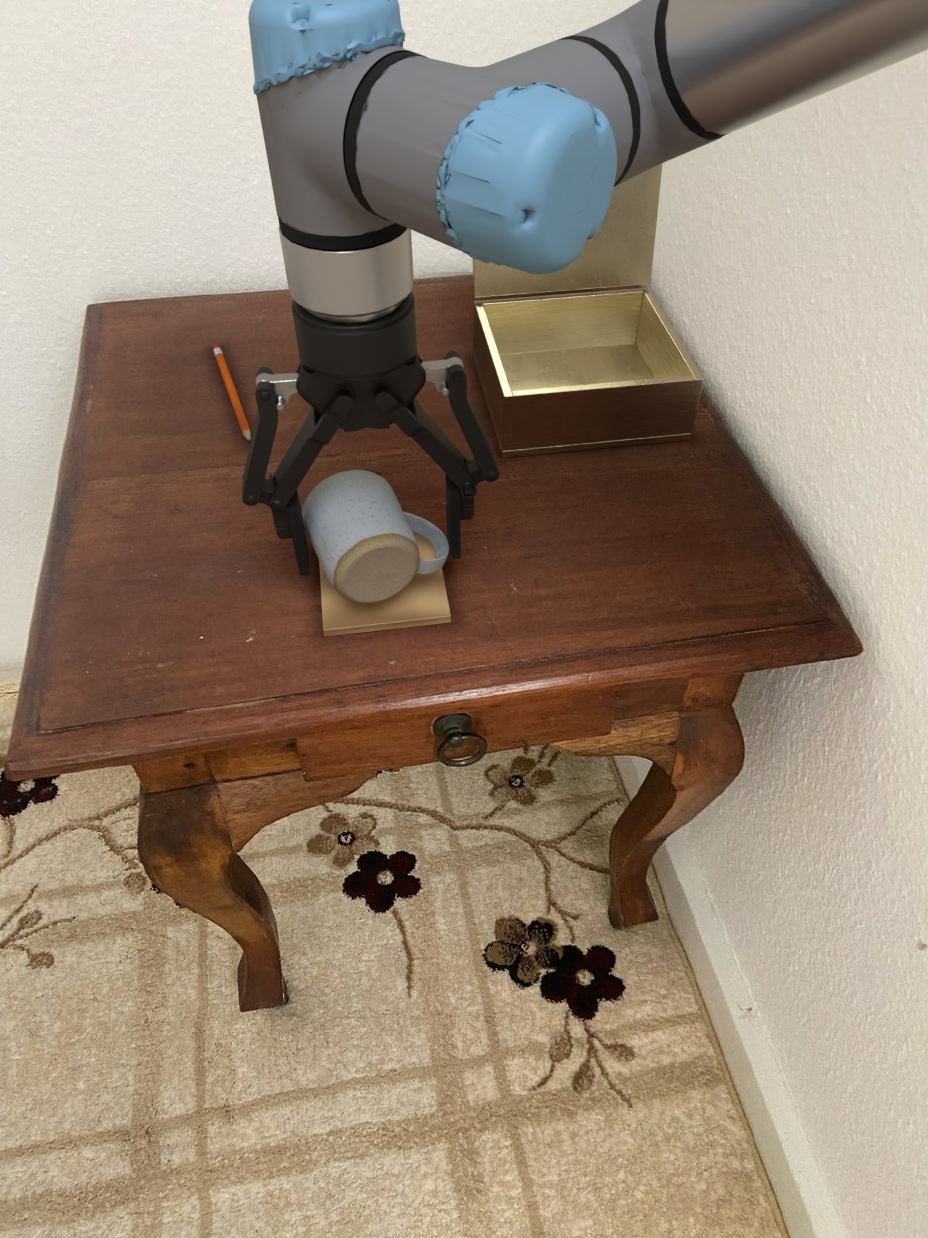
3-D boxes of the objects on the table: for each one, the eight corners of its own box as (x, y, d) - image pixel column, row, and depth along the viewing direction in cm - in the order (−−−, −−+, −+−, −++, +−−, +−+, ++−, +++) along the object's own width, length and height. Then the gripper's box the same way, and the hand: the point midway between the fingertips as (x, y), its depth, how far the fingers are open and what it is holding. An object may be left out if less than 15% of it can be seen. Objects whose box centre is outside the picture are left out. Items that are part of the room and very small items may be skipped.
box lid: (671, 74, 79) (653, 68, 83) (469, 85, 78) (461, 78, 82) (650, 284, 91) (636, 269, 95) (474, 297, 89) (467, 282, 93)
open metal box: (690, 440, 85) (704, 378, 80) (502, 458, 83) (504, 396, 78) (639, 345, 96) (648, 287, 91) (473, 359, 95) (473, 300, 90)
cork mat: (451, 622, 69) (451, 616, 68) (324, 637, 68) (322, 630, 67) (435, 538, 75) (435, 531, 75) (319, 550, 74) (318, 543, 74)
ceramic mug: (338, 622, 66) (328, 547, 60) (306, 554, 71) (294, 479, 65) (466, 583, 69) (467, 508, 63) (426, 520, 74) (425, 446, 68)
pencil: (221, 350, 96) (219, 343, 96) (256, 446, 84) (254, 439, 84) (213, 352, 96) (211, 344, 95) (247, 448, 84) (245, 441, 84)
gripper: (530, 251, 57) (516, 509, 73) (159, 278, 54) (230, 538, 70) (555, 308, 52) (534, 572, 68) (147, 341, 49) (227, 605, 65)
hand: (379, 555), depth 69 cm, fingers closed on ceramic mug, 11 cm apart
